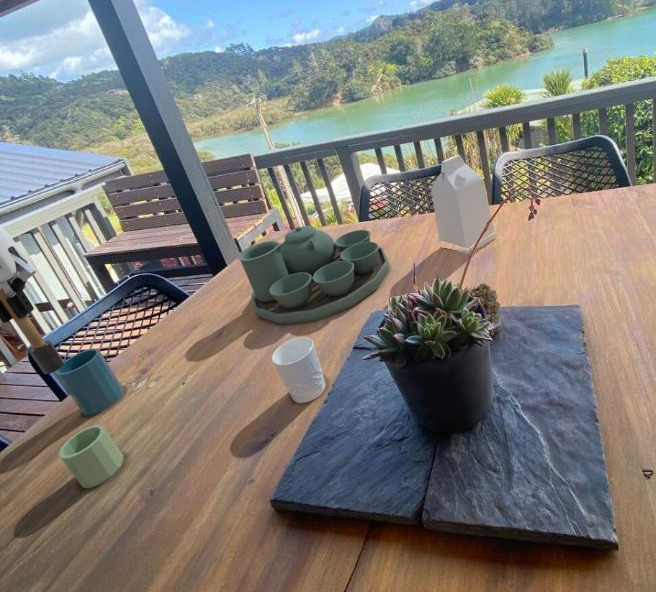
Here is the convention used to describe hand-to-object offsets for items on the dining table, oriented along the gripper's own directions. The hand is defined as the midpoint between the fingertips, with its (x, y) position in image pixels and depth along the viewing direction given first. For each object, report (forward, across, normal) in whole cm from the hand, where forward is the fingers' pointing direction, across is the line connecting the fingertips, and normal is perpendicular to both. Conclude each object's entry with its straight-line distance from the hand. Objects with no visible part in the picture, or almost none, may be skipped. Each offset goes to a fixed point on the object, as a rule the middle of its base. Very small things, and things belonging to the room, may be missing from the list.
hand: (19, 315), depth 74 cm
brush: (+12, 0, 0) cm, 12 cm away
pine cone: (+30, +75, -5) cm, 81 cm away
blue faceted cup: (+30, -6, +13) cm, 33 cm away
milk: (+30, +88, +42) cm, 102 cm away
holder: (+30, +4, -9) cm, 32 cm away
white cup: (+30, +42, -3) cm, 52 cm away
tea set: (+30, +44, +41) cm, 67 cm away
